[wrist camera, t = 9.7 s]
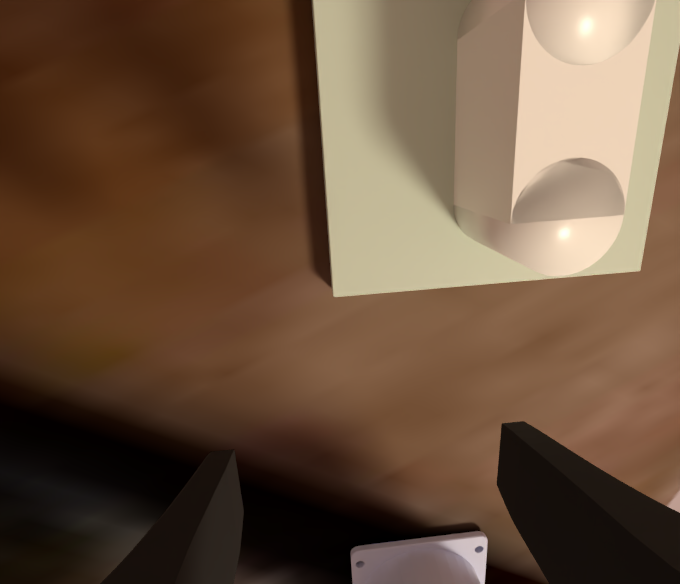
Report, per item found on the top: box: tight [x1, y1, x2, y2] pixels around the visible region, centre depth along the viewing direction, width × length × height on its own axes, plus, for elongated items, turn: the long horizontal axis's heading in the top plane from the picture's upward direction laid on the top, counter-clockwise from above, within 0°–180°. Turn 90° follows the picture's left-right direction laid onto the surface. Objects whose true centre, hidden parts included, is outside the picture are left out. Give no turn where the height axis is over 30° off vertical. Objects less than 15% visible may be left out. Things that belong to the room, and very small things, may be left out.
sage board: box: [312, 0, 680, 297], centre depth 17 cm, size 13×14×1 cm
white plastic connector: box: [454, 0, 656, 276], centre depth 14 cm, size 12×4×5 cm, turn 4°
